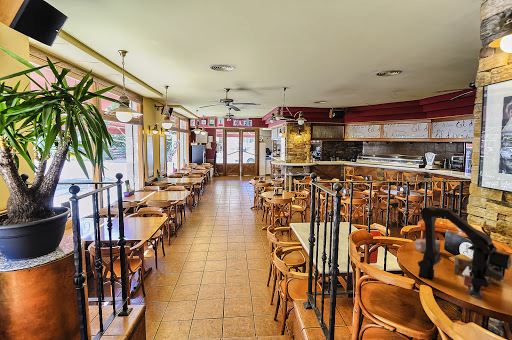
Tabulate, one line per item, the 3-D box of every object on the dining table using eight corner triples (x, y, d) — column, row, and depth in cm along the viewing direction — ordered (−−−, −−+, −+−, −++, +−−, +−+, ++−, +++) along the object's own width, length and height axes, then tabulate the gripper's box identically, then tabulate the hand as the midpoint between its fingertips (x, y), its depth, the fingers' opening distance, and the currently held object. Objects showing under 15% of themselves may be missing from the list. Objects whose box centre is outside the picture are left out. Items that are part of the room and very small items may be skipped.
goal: (454, 274, 149) (455, 264, 149) (453, 266, 159) (455, 256, 158) (491, 283, 140) (492, 273, 139) (488, 274, 149) (490, 264, 148)
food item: (419, 253, 176) (420, 239, 175) (413, 248, 184) (414, 235, 182) (440, 254, 174) (442, 240, 173) (433, 249, 182) (435, 236, 181)
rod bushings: (468, 294, 130) (468, 291, 130) (467, 288, 135) (468, 286, 134) (482, 298, 127) (482, 295, 127) (480, 292, 132) (481, 289, 131)
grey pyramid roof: (458, 280, 144) (468, 272, 137) (461, 268, 149) (471, 259, 142) (476, 290, 140) (487, 282, 133) (478, 277, 145) (489, 269, 138)
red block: (465, 295, 129) (466, 279, 128) (463, 282, 140) (465, 268, 139) (486, 301, 124) (488, 285, 123) (483, 288, 135) (485, 273, 134)
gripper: (506, 274, 113) (501, 307, 115) (499, 258, 128) (495, 288, 130) (473, 266, 120) (469, 297, 122) (470, 252, 135) (466, 280, 137)
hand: (476, 291), depth 127 cm, fingers closed on red block, 3 cm apart
